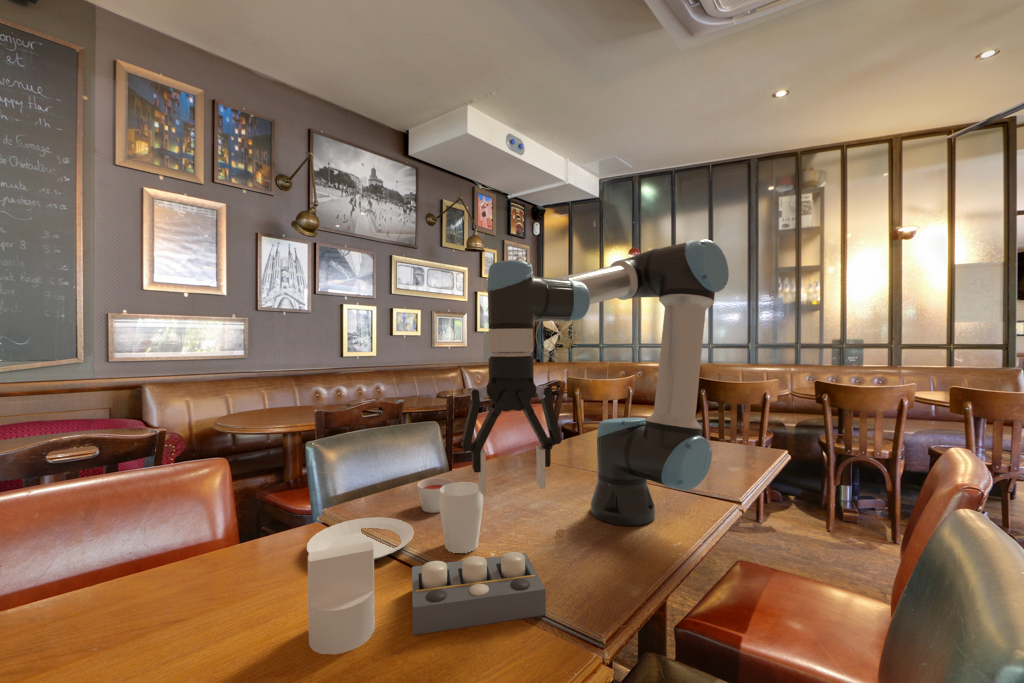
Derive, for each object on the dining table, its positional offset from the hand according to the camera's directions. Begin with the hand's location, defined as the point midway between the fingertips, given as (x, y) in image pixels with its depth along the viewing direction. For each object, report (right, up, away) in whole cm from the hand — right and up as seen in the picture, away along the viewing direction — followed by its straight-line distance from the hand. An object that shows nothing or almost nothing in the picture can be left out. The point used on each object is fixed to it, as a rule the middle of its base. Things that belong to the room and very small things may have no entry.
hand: (512, 488), depth 75 cm
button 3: (-12, -15, -3) cm, 20 cm away
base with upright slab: (-25, -18, -10) cm, 32 cm away
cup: (-10, -18, +17) cm, 27 cm away
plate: (-31, -18, +17) cm, 40 cm away
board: (-6, -18, -2) cm, 19 cm away
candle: (-19, -18, +39) cm, 47 cm away
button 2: (-6, -15, -1) cm, 17 cm away
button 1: (0, -15, 0) cm, 15 cm away
